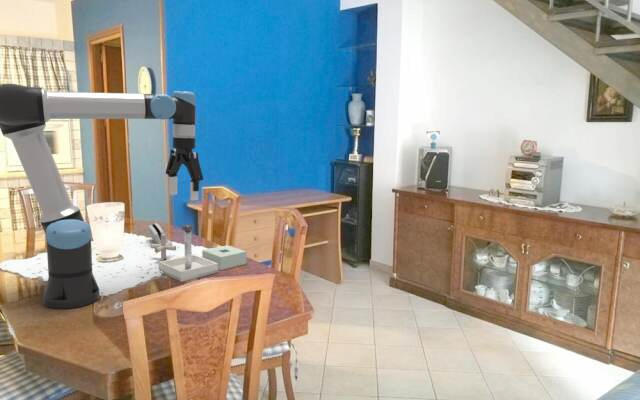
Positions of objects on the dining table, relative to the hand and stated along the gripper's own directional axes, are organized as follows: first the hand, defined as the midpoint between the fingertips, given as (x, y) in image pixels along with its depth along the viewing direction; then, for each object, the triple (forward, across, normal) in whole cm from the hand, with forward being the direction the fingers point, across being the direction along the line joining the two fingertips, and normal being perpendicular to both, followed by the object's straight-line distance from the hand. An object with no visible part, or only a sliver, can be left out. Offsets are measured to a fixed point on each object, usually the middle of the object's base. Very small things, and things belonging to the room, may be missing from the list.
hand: (183, 197), depth 167 cm
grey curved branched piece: (+28, +40, -13) cm, 51 cm away
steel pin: (+26, -1, -2) cm, 26 cm away
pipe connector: (+28, +18, -2) cm, 33 cm away
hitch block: (+27, -1, -18) cm, 32 cm away
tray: (+27, -1, -2) cm, 27 cm away
